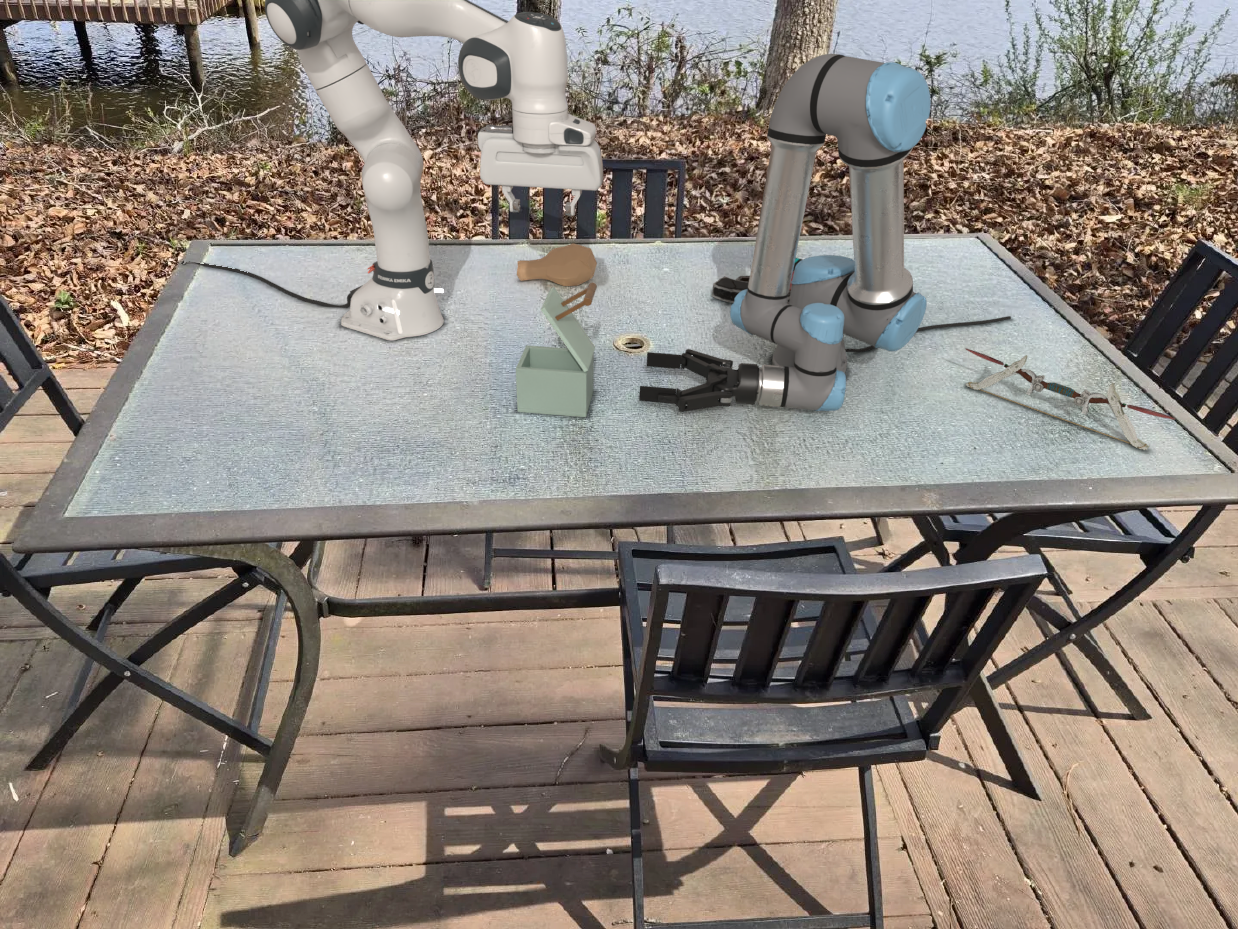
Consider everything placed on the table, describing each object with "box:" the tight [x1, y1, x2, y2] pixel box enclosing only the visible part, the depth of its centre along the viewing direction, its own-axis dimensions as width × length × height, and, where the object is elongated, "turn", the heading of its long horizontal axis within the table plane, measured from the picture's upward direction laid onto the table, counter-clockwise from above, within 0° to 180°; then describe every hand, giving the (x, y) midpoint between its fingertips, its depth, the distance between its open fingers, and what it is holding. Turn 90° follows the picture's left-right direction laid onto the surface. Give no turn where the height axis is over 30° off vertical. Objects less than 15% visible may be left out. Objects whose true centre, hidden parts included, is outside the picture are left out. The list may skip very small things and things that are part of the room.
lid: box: [540, 281, 598, 372], centre depth 158 cm, size 14×10×8 cm
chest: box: [515, 345, 595, 418], centre depth 166 cm, size 13×10×9 cm
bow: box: [964, 347, 1177, 451], centre depth 165 cm, size 39×2×10 cm, turn 47°
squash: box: [516, 242, 598, 287], centre depth 216 cm, size 11×20×9 cm, turn 90°
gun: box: [711, 257, 804, 304], centre depth 215 cm, size 4×31×19 cm
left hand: (542, 212), depth 148 cm, fingers open, 8 cm apart
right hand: (643, 375), depth 163 cm, fingers open, 13 cm apart
